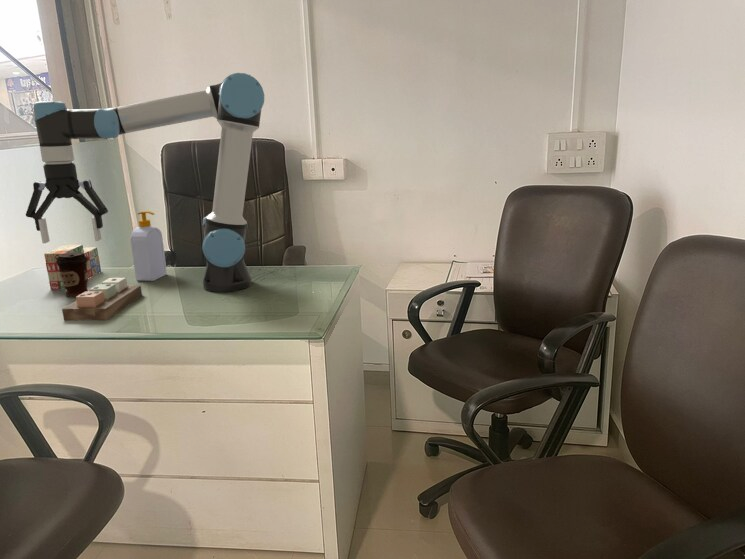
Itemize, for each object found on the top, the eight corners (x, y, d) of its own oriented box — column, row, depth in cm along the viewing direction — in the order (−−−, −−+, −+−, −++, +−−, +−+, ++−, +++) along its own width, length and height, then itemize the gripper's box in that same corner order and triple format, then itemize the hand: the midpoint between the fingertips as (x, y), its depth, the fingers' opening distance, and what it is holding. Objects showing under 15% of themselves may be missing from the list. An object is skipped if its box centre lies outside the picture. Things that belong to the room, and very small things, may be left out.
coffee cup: (79, 299, 169) (72, 258, 166) (55, 298, 171) (48, 257, 167) (98, 291, 177) (92, 251, 174) (75, 289, 179) (68, 250, 176)
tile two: (116, 294, 164) (114, 283, 163) (108, 299, 159) (106, 288, 158) (99, 294, 164) (98, 283, 163) (90, 299, 159) (89, 288, 158)
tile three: (104, 301, 157) (102, 290, 156) (95, 307, 152) (93, 296, 151) (87, 301, 157) (85, 290, 156) (77, 307, 152) (75, 296, 151)
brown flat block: (142, 295, 172) (140, 285, 172) (107, 319, 151) (105, 308, 150) (104, 295, 173) (102, 285, 172) (63, 319, 152) (61, 308, 151)
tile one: (127, 287, 170) (125, 277, 169) (119, 291, 165) (118, 281, 165) (111, 287, 170) (109, 277, 170) (103, 292, 166) (101, 281, 165)
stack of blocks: (84, 272, 200) (79, 238, 197) (101, 272, 200) (96, 238, 197) (50, 290, 180) (43, 252, 177) (69, 289, 180) (62, 252, 176)
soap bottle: (154, 281, 187) (145, 213, 181) (135, 280, 188) (126, 213, 182) (169, 274, 195) (161, 209, 189) (151, 273, 197) (142, 209, 190)
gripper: (112, 160, 152) (123, 236, 158) (15, 162, 149) (30, 240, 155) (103, 162, 145) (115, 241, 151) (1, 165, 142) (17, 246, 148)
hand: (72, 241), depth 153 cm, fingers open, 13 cm apart
